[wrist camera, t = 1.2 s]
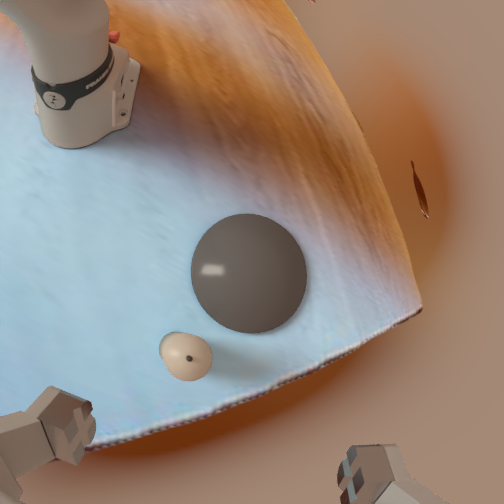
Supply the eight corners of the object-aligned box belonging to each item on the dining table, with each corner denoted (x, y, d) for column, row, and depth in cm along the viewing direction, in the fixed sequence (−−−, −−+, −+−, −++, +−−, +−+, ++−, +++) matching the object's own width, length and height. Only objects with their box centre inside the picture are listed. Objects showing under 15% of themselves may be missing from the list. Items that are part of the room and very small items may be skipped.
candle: (161, 328, 42) (169, 330, 31) (196, 335, 44) (217, 338, 32) (156, 363, 41) (162, 378, 29) (191, 369, 42) (210, 385, 31)
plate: (203, 203, 48) (205, 201, 47) (307, 231, 53) (311, 229, 52) (181, 321, 43) (182, 321, 42) (296, 339, 48) (299, 340, 47)
